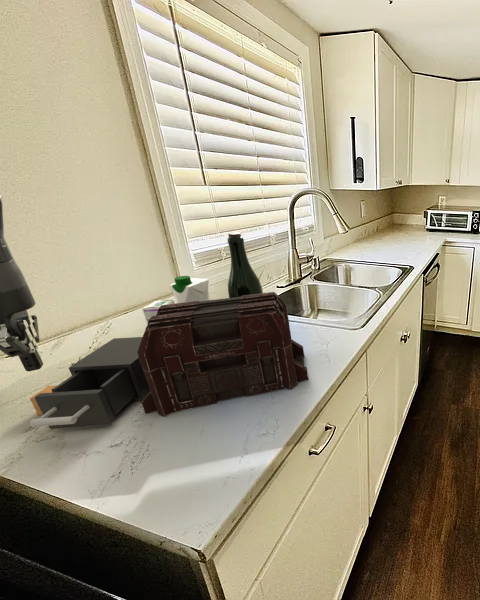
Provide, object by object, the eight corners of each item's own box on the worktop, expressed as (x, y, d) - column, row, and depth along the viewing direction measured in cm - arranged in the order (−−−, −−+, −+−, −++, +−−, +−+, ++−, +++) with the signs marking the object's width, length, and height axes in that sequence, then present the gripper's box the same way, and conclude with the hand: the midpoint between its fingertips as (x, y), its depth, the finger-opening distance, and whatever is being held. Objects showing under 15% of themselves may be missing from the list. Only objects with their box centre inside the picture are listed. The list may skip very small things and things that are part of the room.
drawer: (93, 442, 63) (78, 408, 60) (27, 447, 62) (9, 413, 59) (149, 387, 79) (139, 359, 76) (97, 390, 78) (85, 362, 75)
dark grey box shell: (143, 400, 76) (130, 364, 72) (84, 404, 75) (68, 367, 71) (175, 367, 89) (166, 335, 85) (125, 370, 88) (113, 338, 84)
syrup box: (176, 351, 97) (163, 306, 92) (155, 352, 96) (141, 307, 91) (186, 342, 102) (174, 299, 97) (167, 343, 102) (154, 300, 96)
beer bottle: (239, 328, 111) (218, 231, 99) (271, 324, 114) (255, 229, 102) (233, 342, 102) (209, 236, 90) (268, 338, 104) (250, 234, 92)
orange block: (37, 415, 71) (29, 398, 70) (56, 401, 76) (48, 385, 74) (60, 413, 72) (52, 396, 70) (76, 400, 76) (69, 384, 74)
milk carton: (180, 338, 105) (163, 279, 98) (202, 326, 113) (188, 270, 106) (203, 340, 103) (187, 280, 96) (223, 328, 111) (210, 272, 104)
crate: (140, 422, 69) (107, 334, 61) (165, 374, 85) (142, 300, 78) (309, 386, 80) (299, 308, 73) (303, 350, 97) (294, 283, 89)
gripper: (-18, 281, 62) (21, 359, 68) (-57, 302, 52) (-7, 392, 58) (37, 274, 66) (69, 349, 72) (11, 293, 55) (51, 379, 62)
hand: (35, 368), depth 65 cm, fingers closed
